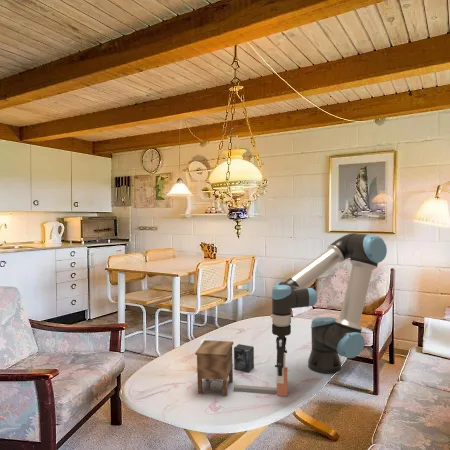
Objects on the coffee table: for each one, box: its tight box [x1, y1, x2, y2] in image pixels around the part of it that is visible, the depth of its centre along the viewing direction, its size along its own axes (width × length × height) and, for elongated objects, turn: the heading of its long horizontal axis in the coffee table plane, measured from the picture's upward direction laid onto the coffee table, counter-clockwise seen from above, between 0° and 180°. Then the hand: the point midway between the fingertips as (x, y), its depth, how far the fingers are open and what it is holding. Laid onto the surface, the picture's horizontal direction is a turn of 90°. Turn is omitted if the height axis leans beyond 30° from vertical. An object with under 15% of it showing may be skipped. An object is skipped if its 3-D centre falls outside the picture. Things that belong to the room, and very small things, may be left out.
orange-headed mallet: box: [233, 366, 289, 397], centre depth 160 cm, size 22×4×10 cm, turn 78°
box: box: [233, 343, 255, 373], centre depth 183 cm, size 8×6×11 cm
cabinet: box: [194, 339, 234, 397], centre depth 165 cm, size 13×15×17 cm
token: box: [208, 380, 223, 393], centre depth 164 cm, size 6×6×2 cm
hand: (281, 375), depth 158 cm, fingers open, 13 cm apart
